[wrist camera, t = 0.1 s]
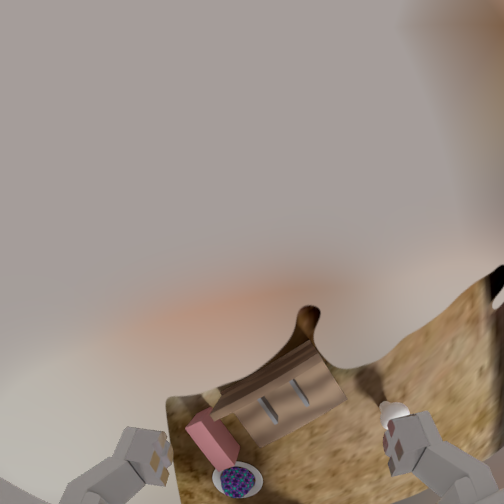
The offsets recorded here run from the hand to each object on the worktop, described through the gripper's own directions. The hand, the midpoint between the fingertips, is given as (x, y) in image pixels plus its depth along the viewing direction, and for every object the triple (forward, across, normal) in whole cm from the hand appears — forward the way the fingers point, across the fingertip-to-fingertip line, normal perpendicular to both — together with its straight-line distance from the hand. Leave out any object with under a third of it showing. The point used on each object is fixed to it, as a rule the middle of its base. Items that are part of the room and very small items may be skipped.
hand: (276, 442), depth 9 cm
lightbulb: (+38, +22, -45) cm, 62 cm away
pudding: (+30, -12, -60) cm, 68 cm away
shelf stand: (+40, 0, -40) cm, 56 cm away
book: (+36, -15, -47) cm, 61 cm away
